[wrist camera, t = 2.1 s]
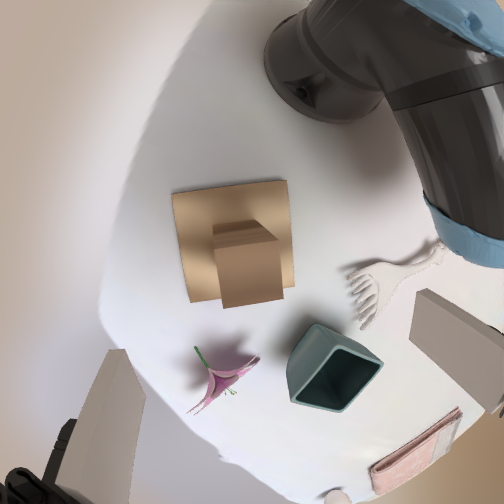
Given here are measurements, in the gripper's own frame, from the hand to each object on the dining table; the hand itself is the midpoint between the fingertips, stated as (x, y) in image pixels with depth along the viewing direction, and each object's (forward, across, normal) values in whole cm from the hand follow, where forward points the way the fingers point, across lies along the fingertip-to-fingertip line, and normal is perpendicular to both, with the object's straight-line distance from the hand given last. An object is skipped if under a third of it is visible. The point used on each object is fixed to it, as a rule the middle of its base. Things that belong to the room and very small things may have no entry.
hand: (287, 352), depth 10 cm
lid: (+20, 0, 0) cm, 20 cm away
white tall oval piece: (+21, +17, -80) cm, 84 cm away
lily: (+21, -5, -16) cm, 27 cm away
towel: (+21, +48, -81) cm, 97 cm away
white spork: (+21, +29, -5) cm, 36 cm away
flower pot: (+21, +9, -16) cm, 28 cm away
